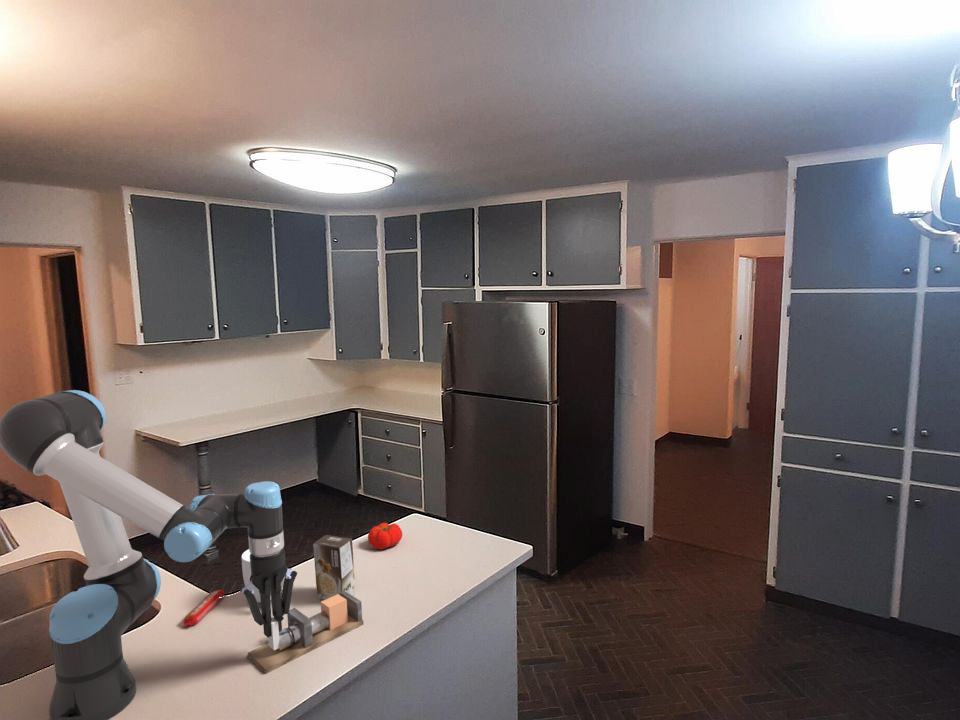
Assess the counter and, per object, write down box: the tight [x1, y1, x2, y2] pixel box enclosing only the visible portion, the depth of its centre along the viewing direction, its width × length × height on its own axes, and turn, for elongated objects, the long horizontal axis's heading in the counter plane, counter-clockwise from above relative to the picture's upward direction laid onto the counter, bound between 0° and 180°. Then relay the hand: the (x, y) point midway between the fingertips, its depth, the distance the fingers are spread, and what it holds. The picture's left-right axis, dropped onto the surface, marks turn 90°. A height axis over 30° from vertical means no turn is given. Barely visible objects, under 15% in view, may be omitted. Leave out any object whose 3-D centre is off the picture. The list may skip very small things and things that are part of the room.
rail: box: [247, 591, 364, 674], centre depth 143 cm, size 26×9×7 cm, turn 136°
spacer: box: [320, 594, 348, 630], centre depth 148 cm, size 5×4×6 cm
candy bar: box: [182, 589, 226, 627], centre depth 157 cm, size 16×4×3 cm, turn 174°
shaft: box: [276, 611, 330, 651], centre depth 142 cm, size 13×4×4 cm, turn 136°
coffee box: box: [312, 534, 356, 601], centre depth 163 cm, size 9×6×16 cm
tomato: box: [367, 522, 403, 550], centre depth 195 cm, size 10×11×6 cm
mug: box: [241, 548, 284, 604], centre depth 161 cm, size 15×11×13 cm
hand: (274, 646), depth 137 cm, fingers closed
